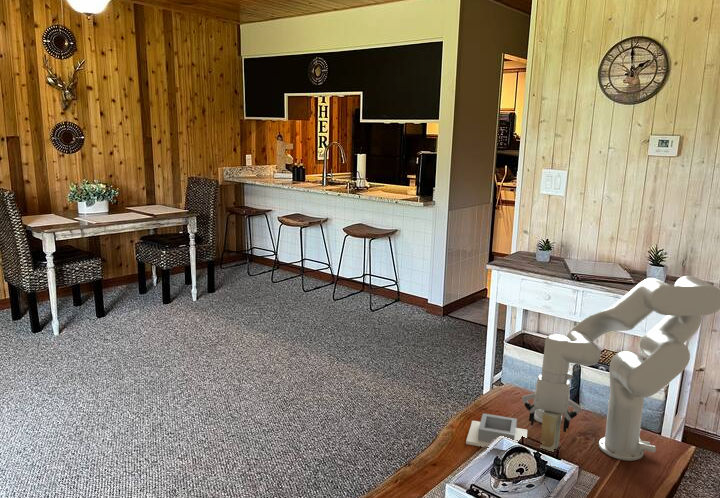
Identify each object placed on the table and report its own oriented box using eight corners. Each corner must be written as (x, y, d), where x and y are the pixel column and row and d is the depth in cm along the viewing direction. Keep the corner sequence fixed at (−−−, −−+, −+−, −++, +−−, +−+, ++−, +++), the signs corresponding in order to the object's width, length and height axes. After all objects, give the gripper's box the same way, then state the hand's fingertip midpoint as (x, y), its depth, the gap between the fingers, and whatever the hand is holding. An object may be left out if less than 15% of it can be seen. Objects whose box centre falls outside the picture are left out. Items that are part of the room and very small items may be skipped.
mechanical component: (565, 426, 188) (557, 412, 198) (566, 414, 188) (558, 400, 197) (535, 424, 189) (529, 410, 199) (535, 412, 189) (530, 399, 198)
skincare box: (545, 440, 179) (548, 405, 176) (559, 445, 176) (562, 409, 174) (539, 449, 174) (542, 413, 171) (553, 454, 171) (556, 417, 169)
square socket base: (527, 432, 184) (528, 418, 183) (525, 454, 171) (526, 439, 170) (472, 423, 189) (472, 409, 188) (465, 443, 176) (466, 429, 175)
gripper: (584, 375, 171) (577, 426, 174) (525, 366, 176) (520, 415, 180) (585, 385, 164) (578, 438, 167) (524, 375, 169) (518, 426, 173)
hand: (548, 426), depth 174 cm, fingers open, 9 cm apart
